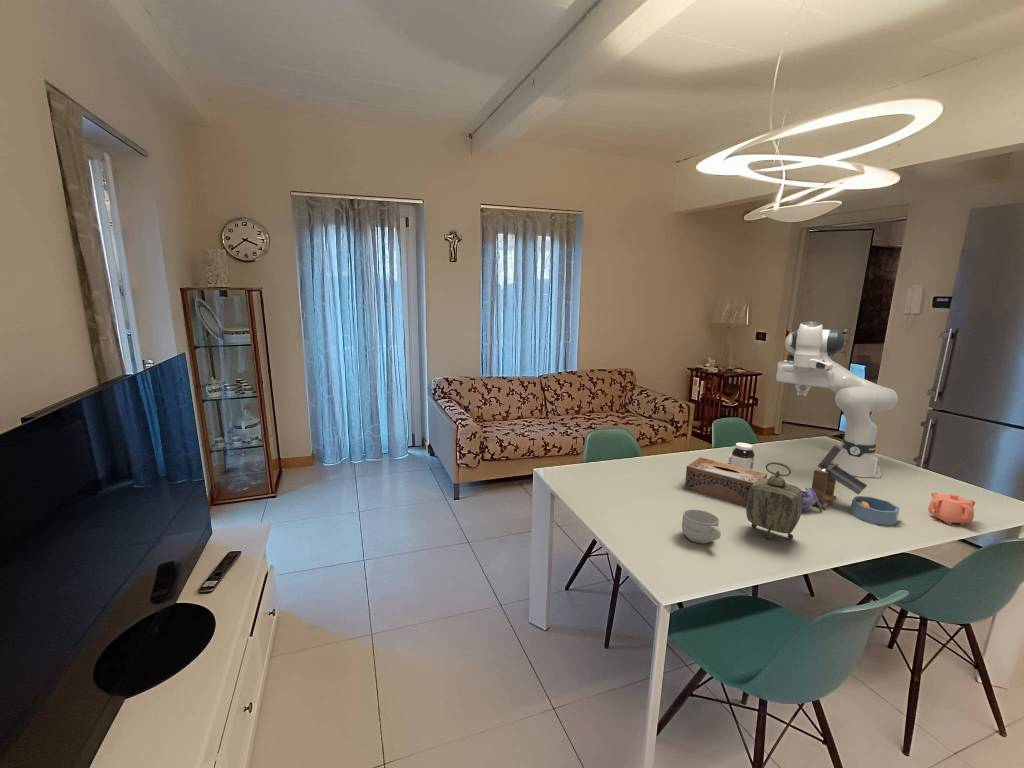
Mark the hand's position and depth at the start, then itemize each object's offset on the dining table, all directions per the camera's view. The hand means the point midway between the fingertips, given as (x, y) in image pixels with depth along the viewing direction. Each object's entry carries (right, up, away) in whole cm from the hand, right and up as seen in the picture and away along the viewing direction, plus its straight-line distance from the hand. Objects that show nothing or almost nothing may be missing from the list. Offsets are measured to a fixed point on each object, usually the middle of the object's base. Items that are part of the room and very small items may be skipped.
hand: (801, 395), depth 188 cm
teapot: (+36, -43, -26) cm, 62 cm away
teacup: (-59, -45, -43) cm, 86 cm away
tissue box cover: (-35, -39, -6) cm, 52 cm away
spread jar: (-15, -34, +22) cm, 43 cm away
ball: (+8, -40, -23) cm, 46 cm away
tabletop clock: (-35, -45, -39) cm, 69 cm away
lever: (+2, -31, -18) cm, 36 cm away
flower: (-10, -42, -19) cm, 47 cm away
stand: (-1, -40, -13) cm, 42 cm away
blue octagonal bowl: (+10, -43, -25) cm, 50 cm away
